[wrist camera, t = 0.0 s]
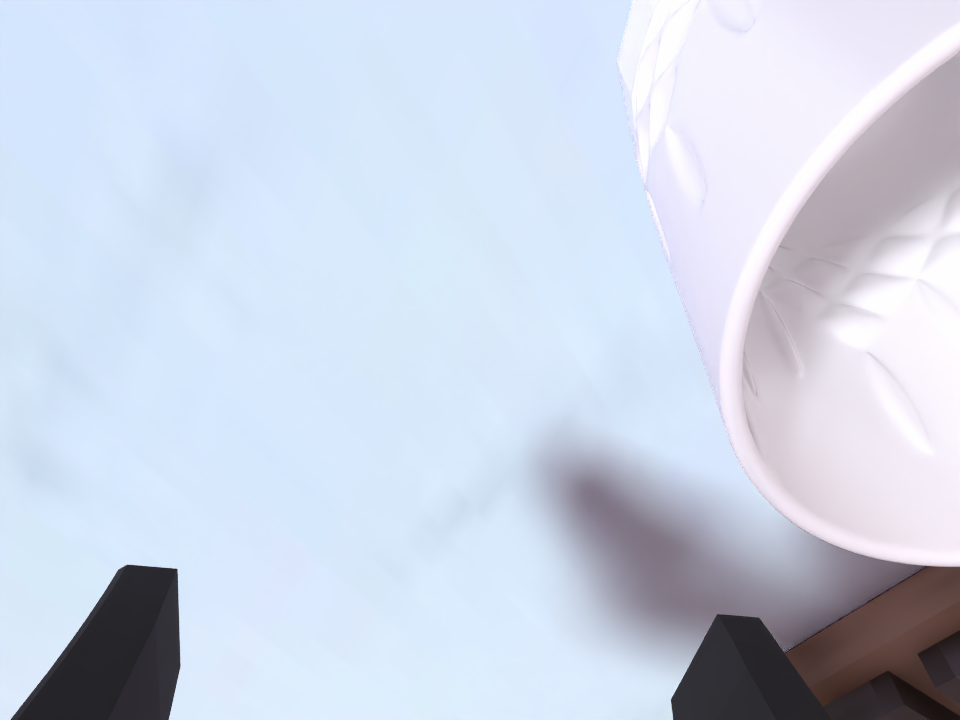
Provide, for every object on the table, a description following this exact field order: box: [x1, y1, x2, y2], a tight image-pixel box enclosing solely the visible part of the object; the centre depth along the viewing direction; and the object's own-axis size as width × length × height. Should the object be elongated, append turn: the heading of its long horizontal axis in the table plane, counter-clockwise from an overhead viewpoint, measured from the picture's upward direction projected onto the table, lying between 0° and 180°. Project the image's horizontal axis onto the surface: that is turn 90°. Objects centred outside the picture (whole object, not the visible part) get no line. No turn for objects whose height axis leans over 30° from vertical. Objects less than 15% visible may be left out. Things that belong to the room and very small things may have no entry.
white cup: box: [617, 0, 960, 567], centre depth 13 cm, size 8×8×10 cm
